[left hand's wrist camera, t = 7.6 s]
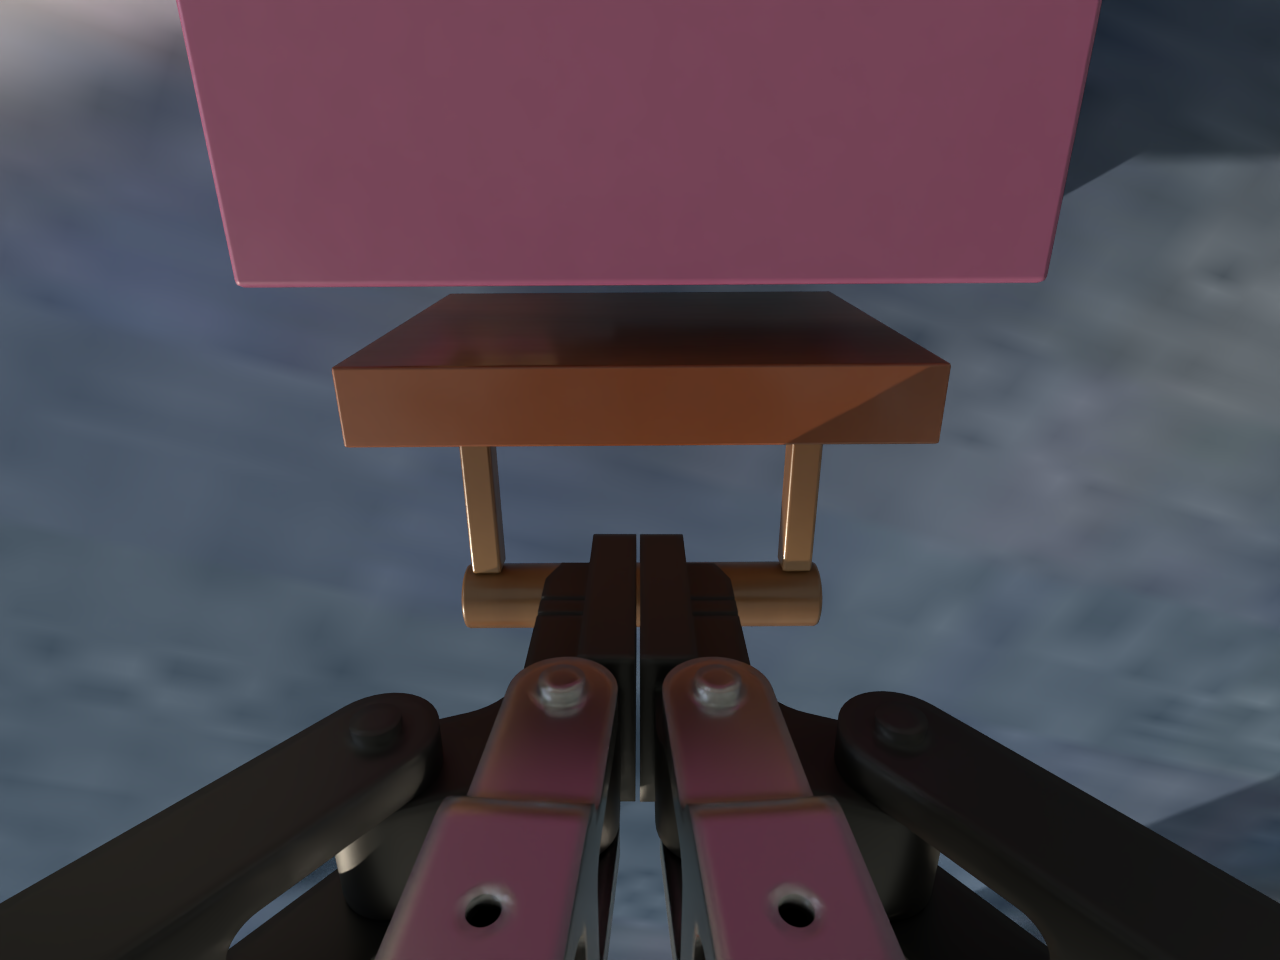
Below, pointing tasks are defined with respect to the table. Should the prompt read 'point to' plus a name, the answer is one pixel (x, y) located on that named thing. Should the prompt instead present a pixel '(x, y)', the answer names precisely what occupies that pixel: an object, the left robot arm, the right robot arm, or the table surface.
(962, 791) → the left robot arm
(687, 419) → the wooden drawer
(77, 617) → the table surface
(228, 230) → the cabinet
